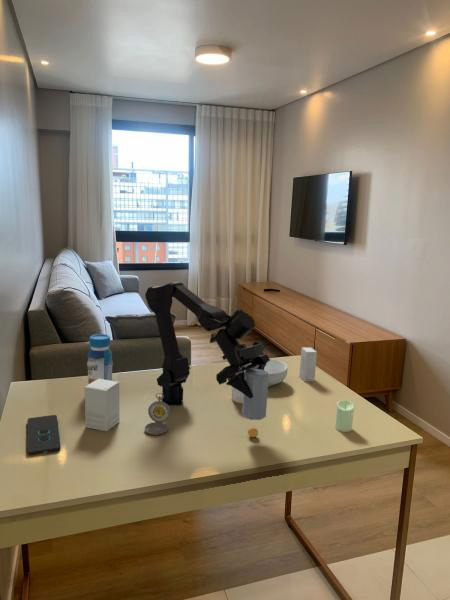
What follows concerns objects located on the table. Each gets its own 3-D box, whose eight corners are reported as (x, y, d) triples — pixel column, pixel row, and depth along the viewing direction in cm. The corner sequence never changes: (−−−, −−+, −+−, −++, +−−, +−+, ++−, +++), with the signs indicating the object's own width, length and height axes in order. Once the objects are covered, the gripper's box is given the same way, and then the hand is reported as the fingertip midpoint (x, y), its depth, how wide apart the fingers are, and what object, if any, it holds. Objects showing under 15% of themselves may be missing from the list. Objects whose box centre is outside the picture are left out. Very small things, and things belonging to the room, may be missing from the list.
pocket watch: (148, 438, 127) (149, 404, 125) (139, 425, 134) (140, 393, 132) (176, 432, 131) (176, 400, 129) (166, 420, 138) (166, 389, 136)
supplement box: (120, 421, 136) (120, 381, 133) (106, 432, 129) (106, 390, 126) (99, 416, 138) (98, 377, 136) (84, 427, 131) (83, 386, 129)
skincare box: (314, 381, 176) (317, 351, 173) (304, 381, 175) (307, 352, 173) (308, 375, 182) (311, 347, 179) (298, 376, 181) (301, 347, 178)
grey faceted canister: (256, 422, 124) (259, 379, 122) (237, 414, 128) (240, 372, 126) (270, 414, 129) (273, 373, 127) (251, 407, 133) (254, 367, 131)
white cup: (251, 405, 151) (252, 377, 149) (228, 402, 153) (229, 374, 151) (254, 396, 159) (256, 369, 157) (232, 393, 160) (233, 366, 158)
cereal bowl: (244, 373, 182) (245, 356, 180) (286, 376, 179) (287, 359, 178) (240, 388, 165) (241, 370, 164) (286, 393, 163) (287, 374, 162)
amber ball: (248, 439, 128) (249, 429, 128) (246, 434, 131) (247, 424, 131) (259, 439, 129) (259, 429, 128) (256, 434, 132) (257, 424, 131)
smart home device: (26, 451, 115) (26, 417, 133) (26, 458, 115) (27, 423, 133) (61, 446, 118) (57, 414, 136) (61, 452, 118) (57, 419, 136)
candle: (350, 433, 135) (353, 407, 133) (333, 430, 137) (336, 404, 135) (352, 426, 140) (355, 401, 138) (335, 423, 141) (338, 398, 140)
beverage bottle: (116, 394, 155) (116, 338, 151) (92, 399, 150) (91, 341, 146) (107, 386, 162) (107, 332, 158) (84, 390, 157) (83, 334, 153)
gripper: (226, 338, 120) (257, 390, 115) (267, 327, 134) (296, 372, 129) (203, 359, 126) (231, 409, 121) (244, 346, 140) (271, 390, 136)
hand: (259, 394), depth 127 cm, fingers closed on grey faceted canister, 6 cm apart
